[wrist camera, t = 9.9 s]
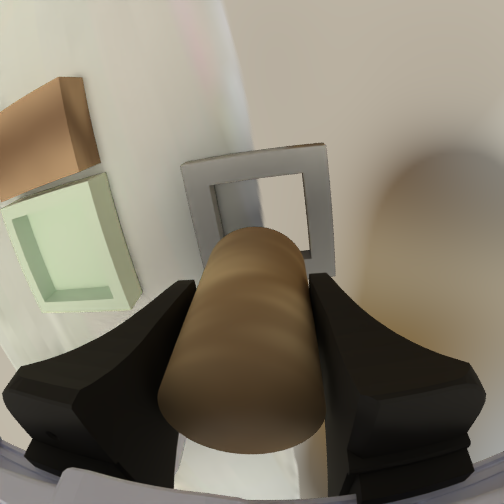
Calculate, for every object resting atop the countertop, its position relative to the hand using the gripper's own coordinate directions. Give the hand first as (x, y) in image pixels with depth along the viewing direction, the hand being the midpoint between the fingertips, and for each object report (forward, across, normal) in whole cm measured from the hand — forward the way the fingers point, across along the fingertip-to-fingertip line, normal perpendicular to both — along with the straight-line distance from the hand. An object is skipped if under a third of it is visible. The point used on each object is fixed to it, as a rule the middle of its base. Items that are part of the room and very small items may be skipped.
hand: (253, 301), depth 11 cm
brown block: (+9, +14, -7) cm, 19 cm away
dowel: (+2, 0, 0) cm, 2 cm away
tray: (+9, +14, +1) cm, 17 cm away
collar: (+9, 0, 0) cm, 9 cm away
